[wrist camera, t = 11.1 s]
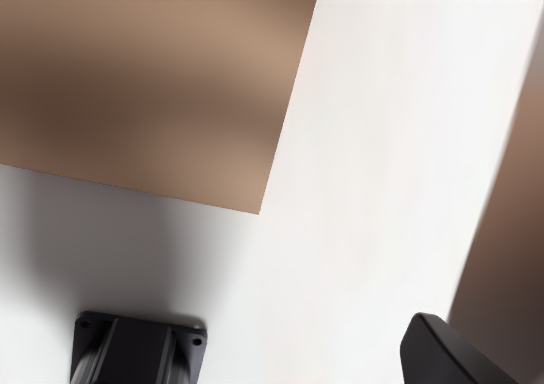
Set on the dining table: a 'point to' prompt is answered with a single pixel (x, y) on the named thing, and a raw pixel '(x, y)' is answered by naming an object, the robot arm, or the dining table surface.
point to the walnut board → (151, 92)
